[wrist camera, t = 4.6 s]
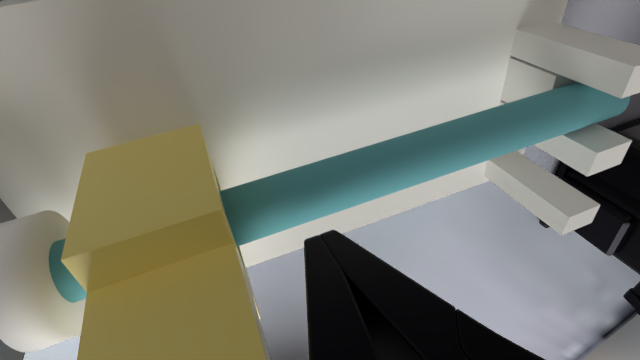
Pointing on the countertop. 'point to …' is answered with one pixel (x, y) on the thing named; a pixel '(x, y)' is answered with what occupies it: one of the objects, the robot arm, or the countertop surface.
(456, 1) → the cable comb
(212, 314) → the sleeve
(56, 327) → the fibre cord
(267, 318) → the countertop surface
